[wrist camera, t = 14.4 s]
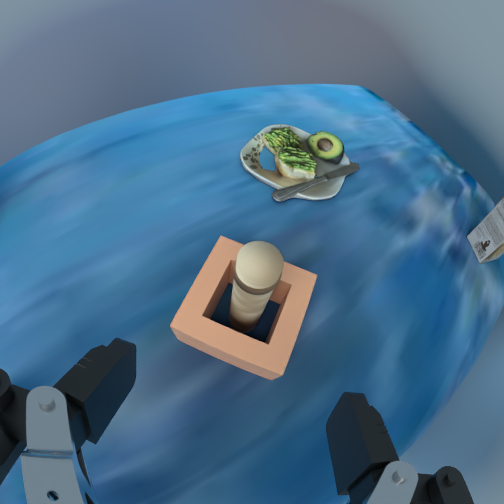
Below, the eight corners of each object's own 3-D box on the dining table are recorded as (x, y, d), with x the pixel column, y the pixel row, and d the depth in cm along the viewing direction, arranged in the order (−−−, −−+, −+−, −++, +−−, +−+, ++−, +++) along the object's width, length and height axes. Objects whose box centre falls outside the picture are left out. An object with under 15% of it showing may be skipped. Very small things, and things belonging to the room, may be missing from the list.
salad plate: (326, 237, 35) (339, 215, 31) (213, 177, 38) (214, 152, 34) (359, 166, 44) (369, 147, 41) (273, 125, 48) (278, 105, 44)
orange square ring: (178, 339, 25) (169, 325, 21) (219, 261, 30) (220, 235, 26) (271, 380, 24) (282, 375, 20) (302, 295, 29) (317, 275, 25)
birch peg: (222, 326, 27) (226, 271, 16) (235, 299, 28) (246, 232, 18) (251, 338, 26) (275, 291, 16) (263, 311, 28) (291, 250, 18)
